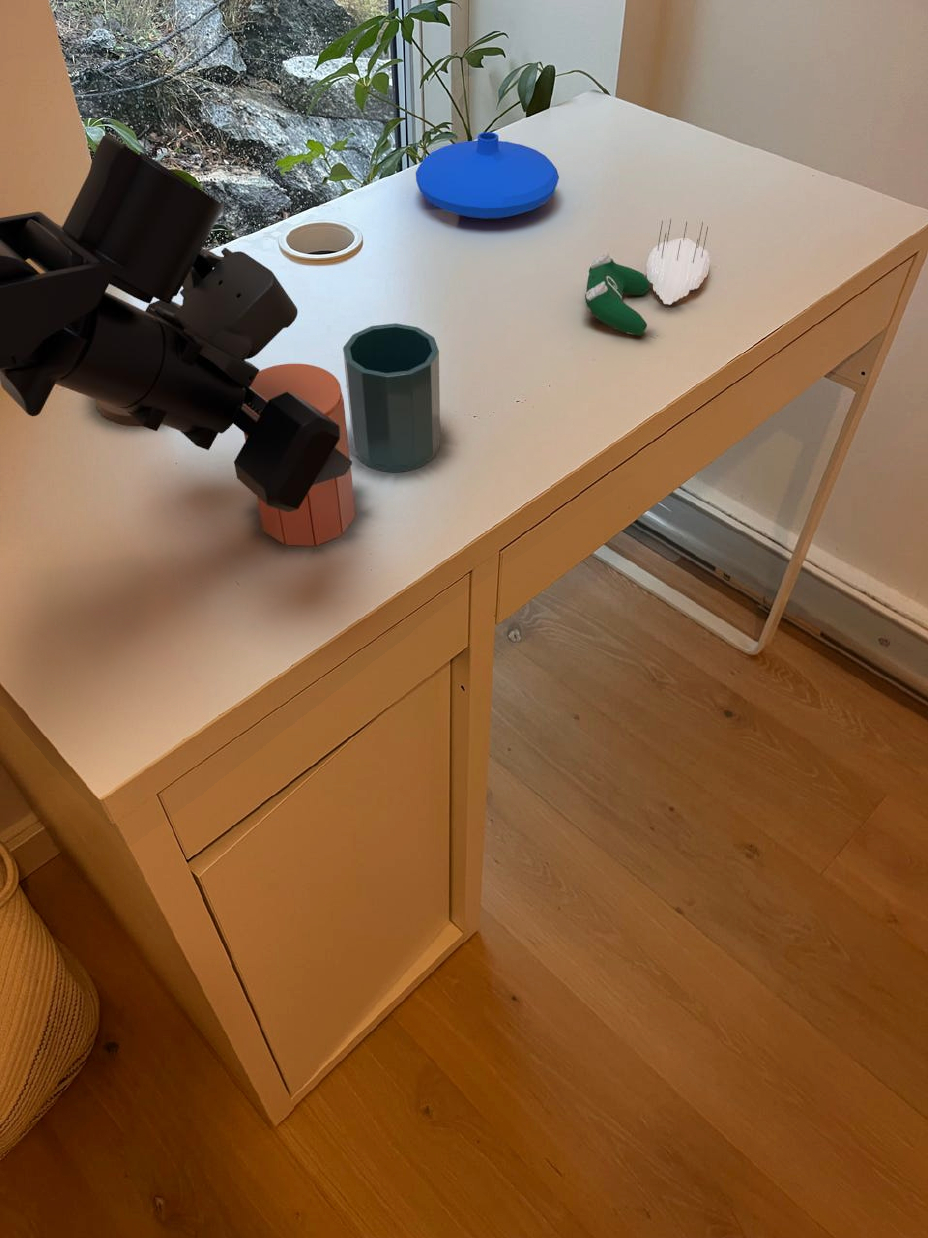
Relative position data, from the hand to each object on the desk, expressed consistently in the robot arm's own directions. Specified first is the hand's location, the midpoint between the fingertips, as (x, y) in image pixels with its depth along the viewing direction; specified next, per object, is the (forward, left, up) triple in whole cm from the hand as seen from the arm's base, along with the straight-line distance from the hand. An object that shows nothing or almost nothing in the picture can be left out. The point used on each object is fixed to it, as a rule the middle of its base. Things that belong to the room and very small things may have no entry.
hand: (308, 436), depth 69 cm
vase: (+24, +48, -7) cm, 54 cm away
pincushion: (+39, +28, -7) cm, 48 cm away
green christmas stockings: (+31, +23, -7) cm, 39 cm away
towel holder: (-13, +18, -7) cm, 23 cm away
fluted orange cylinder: (-1, 0, -7) cm, 7 cm away
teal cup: (+7, +7, -7) cm, 12 cm away
